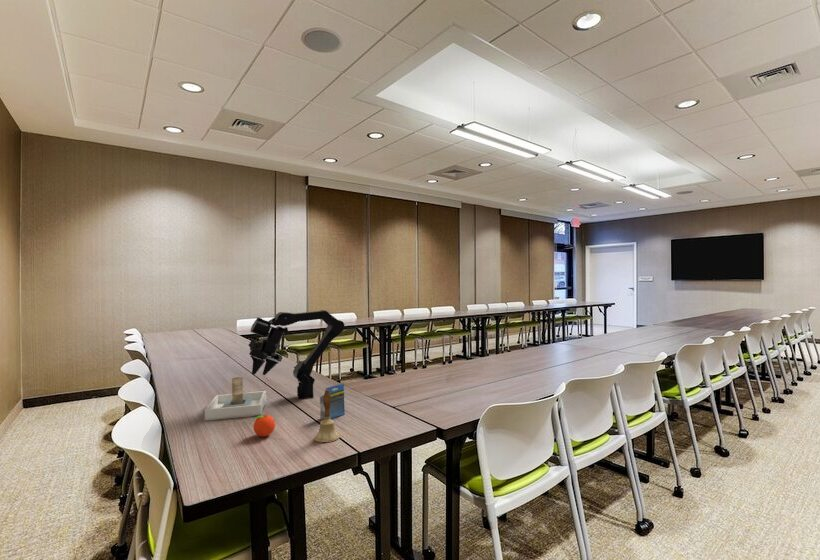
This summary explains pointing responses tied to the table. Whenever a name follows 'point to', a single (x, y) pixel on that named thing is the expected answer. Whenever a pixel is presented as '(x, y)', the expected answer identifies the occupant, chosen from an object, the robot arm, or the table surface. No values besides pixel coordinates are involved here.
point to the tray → (237, 410)
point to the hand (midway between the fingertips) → (258, 374)
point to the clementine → (264, 425)
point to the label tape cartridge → (334, 402)
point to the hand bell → (327, 423)
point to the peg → (237, 390)
